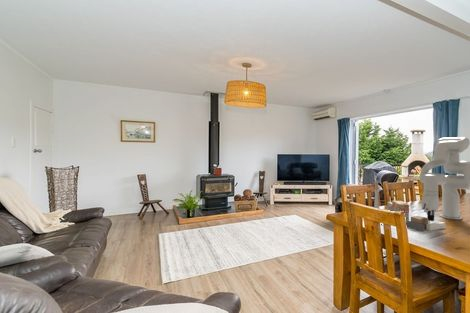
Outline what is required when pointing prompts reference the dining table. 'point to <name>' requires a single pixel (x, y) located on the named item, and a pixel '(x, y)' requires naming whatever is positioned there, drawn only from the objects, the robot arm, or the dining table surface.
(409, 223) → the bar
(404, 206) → the stack of blocks
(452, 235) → the dining table surface
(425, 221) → the walnut block
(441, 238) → the dining table surface
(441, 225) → the chute rail
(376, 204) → the candlestick
